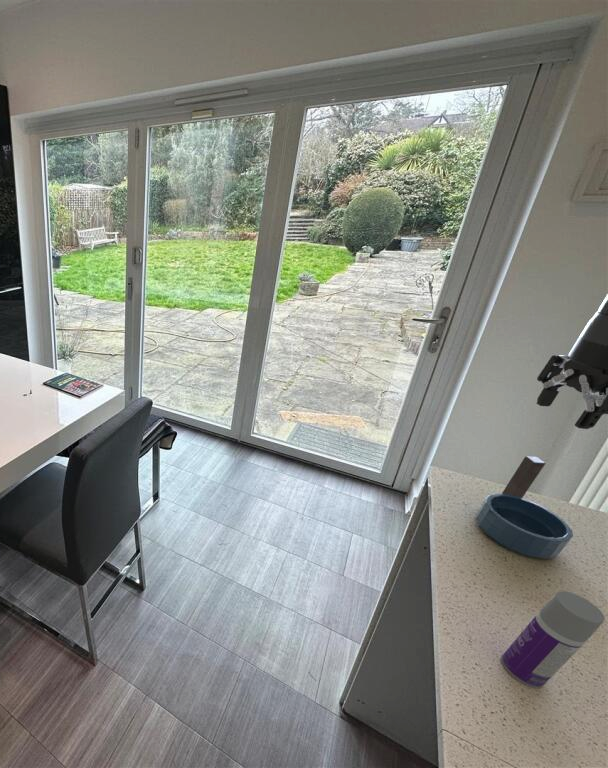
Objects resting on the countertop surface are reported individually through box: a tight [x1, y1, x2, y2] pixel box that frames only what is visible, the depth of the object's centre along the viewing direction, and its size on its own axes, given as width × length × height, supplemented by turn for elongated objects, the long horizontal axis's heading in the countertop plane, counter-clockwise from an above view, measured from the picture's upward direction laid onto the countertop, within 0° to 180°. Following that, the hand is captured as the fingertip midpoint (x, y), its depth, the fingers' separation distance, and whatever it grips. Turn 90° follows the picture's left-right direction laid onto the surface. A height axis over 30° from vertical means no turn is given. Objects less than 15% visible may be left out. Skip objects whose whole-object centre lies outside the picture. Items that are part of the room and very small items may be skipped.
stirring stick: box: [501, 455, 546, 498], centre depth 88 cm, size 2×2×13 cm
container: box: [500, 590, 606, 689], centre depth 57 cm, size 5×5×15 cm
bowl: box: [475, 492, 574, 560], centre depth 82 cm, size 13×13×6 cm
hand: (561, 415), depth 81 cm, fingers open, 8 cm apart
